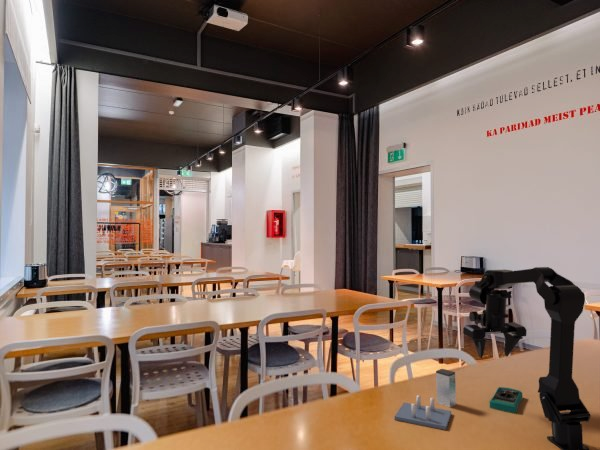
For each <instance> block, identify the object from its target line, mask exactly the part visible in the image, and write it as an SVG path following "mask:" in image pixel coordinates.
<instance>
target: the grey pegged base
mask: <svg viewBox="0 0 600 450" xmlns="http://www.w3.org/2000/svg"><path fill="white" fill-rule="evenodd" d="M415 399H416V402H415V403H411V402H410V403H409V402H404V401H403V402H402V404H401V406H400V407H399V408H398V411H397V412H396V414H395V415H394V420H395V421H398V422H404V423H407V424H409V423H410V424H413V425H419V426H423V427H429V428H434V429H437V428H438V429H439V430H442V429H443V431H447V428H448V425H449V423H450V420H451V416H452V410H450V409H449V410H448V409H443V408H437V407H435V405H436V404H435V397H430V398H429V405H422V402H421V401H422V400H421V395H418V394H417V395H416V398H415ZM448 422H449V423H448ZM438 429H437V430H438Z"/></svg>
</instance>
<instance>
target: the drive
mask: <svg viewBox="0 0 600 450" xmlns="http://www.w3.org/2000/svg"><path fill="white" fill-rule="evenodd" d="M435 378H436V379H435V381H436V382H435V384H436V385H435V386H436V403H437V404H439V405H442V406H445V407H448V408H452V407H455V406H456V405H457V393H456V390H457V389H456V387H457V386H456V372H455V371H452V370H448V369H446V368H439V369H437V370H436V371H435Z"/></svg>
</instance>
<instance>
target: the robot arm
mask: <svg viewBox="0 0 600 450" xmlns="http://www.w3.org/2000/svg"><path fill="white" fill-rule="evenodd" d="M526 283H534V284H535V289H536V292H537V295H539V296H540V297H541V298H542V299H543V303H544V308H545V309H544V310H545V311H546V312H547V314H548V316H549V318H550V322H551V323H550V337H549V338H550V341H549V360H548V362H549V363H548V374H547V375H546V376H540V377H539V379H538V390H537V393H539V395H538V397H539V400H540V404H541V408H542V412H543V414H544V417H545V418H546V419H548V421H549V422H550V423H551V434H552V435H549V436H546V439H547V440H548V441H550V442H551V443H552V444H554V445H556V447H558V448H559V449H561V450H590V447H589V446H587V445H585V444H584V442H583V424H582V423H583V422H587V423H588V422H589V421H590V419H591V416H592V415H591V413H590V411H589V410H588V409H587V407H586V406H585V404H584V402H583V400H582V399H581V397H580V391H579V387H578V385H577V384H576V383H575V381H574V378H573V369H574V368H573V367H574V366H573V365H574V364H573V362H574V345H575V343H574V342H575V328H576V327H575V324H576V322H577V320H578V318H579V317H580V316H581V315H582V313H583V311H584V307H585V302H586V296H585V293H584V292H583V291H582V289H581V288H580V287H579V286H578V285H576V284H575V283H574V282H572V280H570V279H568V278H566V277H564V276H563V275H561V274H559V273H558V272H557V271H555V270H554V269H553V268H552V267H549V266H538V267H537V266H536V267H533V268H528V269H519V270H518V269H517V270H511V269H487V270H485V272H484V274H483V275H482V277H481V279H480V280H475V281H474V284H473V285H471V287H470V289H469V291H468V295H469V297H470V299H471V300H473V301H475V302H478V303H480V304H482V305H484V306H485V309H483V310H482V313H479V312H478V311H470V312H469V314H468V315H469V317H468V318H469V321H470V322H474V324H466V325H464V326H463V332H462V333H463V334H464V335H466V336H467V337H468V338H470V339H472V341H473V344H474V346H475V349H476V352H477V355H478V356H477V357H479V358H480V359H483V356H484V353H485V348H486V342H487V341H486V340H487V339H485V337H486V335H488V334H489V335H491V334H493V335H494V334H503V336H504V337H503V338H504V347H503V349H504V351H503V352H504V356H505V357H509V355H510V354H511V353H512V351H513V349H514V348H515V347H516V346H517V344H518V343H519V342H520V340H523V337H527V334H528V333H527V332H528V331H527V329H526V327H525V326H524V325H521V324H520V323H517V322H512V321H511V322H506V319H507V318H510V316H509V314H508V313H506V312H507V299H512V295H511V294H510V293H509V292H508V289H507V288H510V287H513V286H514V287H515V285H517V284H526ZM547 283H548V284H550V286H549V285H548V284H547ZM478 324H480V326H479V325H478ZM481 326H482V327H481Z"/></svg>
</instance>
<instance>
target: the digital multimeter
mask: <svg viewBox="0 0 600 450" xmlns="http://www.w3.org/2000/svg"><path fill="white" fill-rule="evenodd" d="M522 400H523V392H522V391H521V390H519V389H515V388H510V387H504V386H503V387H502V386H501V387H500V386H499V387H497V389H496V391H495V393H494V394H493V396H492V398H491V399H490V400H489V401H488V402H489V408H490V409H494V410H498V411H502V412H507V413H512V414H516V413H517V411H518V407H519V405H520V403H521V401H522Z"/></svg>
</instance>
